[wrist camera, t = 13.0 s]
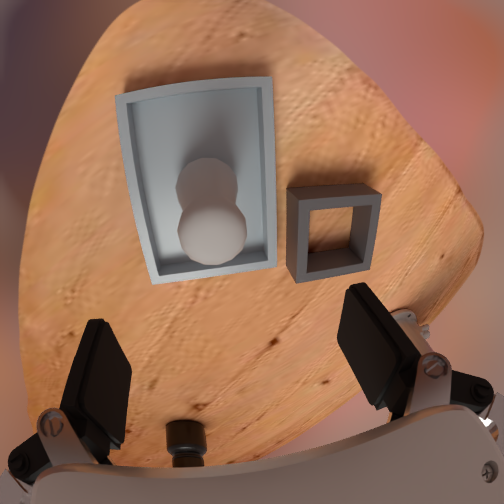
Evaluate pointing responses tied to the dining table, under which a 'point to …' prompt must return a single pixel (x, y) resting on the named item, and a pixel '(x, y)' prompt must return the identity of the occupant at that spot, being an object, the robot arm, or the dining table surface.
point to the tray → (190, 149)
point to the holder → (340, 259)
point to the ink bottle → (186, 443)
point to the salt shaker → (210, 212)
